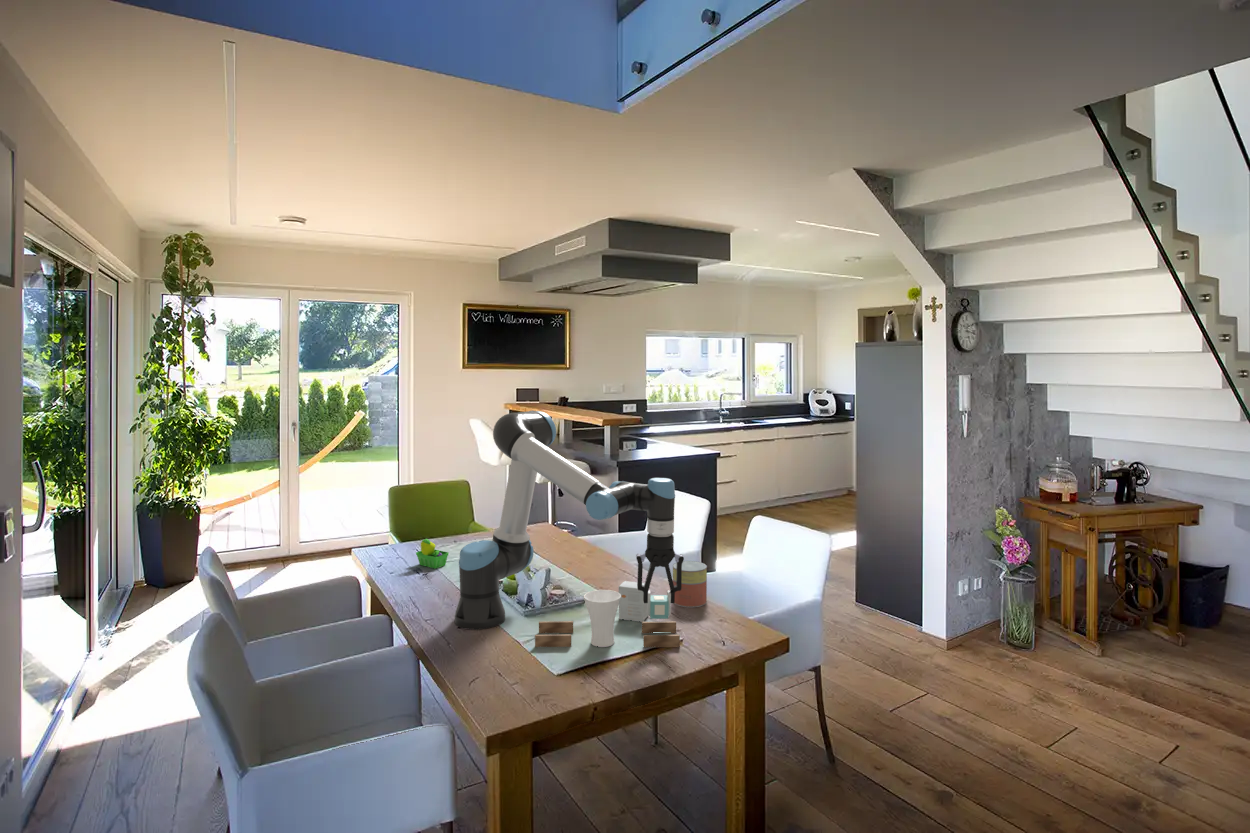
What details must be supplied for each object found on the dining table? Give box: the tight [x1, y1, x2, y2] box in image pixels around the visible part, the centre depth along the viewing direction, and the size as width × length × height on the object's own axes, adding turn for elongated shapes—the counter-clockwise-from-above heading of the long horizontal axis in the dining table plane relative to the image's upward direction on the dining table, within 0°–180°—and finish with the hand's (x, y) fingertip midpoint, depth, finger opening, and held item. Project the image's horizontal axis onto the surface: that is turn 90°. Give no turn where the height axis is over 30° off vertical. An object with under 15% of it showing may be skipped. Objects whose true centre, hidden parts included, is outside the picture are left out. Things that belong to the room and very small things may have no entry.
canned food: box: [672, 560, 708, 608], centre depth 223 cm, size 11×11×12 cm
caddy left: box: [534, 620, 574, 648], centre depth 193 cm, size 10×11×3 cm
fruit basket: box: [415, 538, 450, 570], centre depth 264 cm, size 11×9×11 cm
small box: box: [617, 580, 648, 623], centre depth 209 cm, size 8×6×10 cm
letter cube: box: [649, 594, 669, 620], centre depth 192 cm, size 5×5×5 cm
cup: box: [583, 589, 621, 648], centre depth 190 cm, size 10×10×14 cm
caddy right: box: [641, 620, 681, 648], centre depth 192 cm, size 10×11×3 cm
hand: (658, 613), depth 192 cm, fingers closed on letter cube, 5 cm apart
